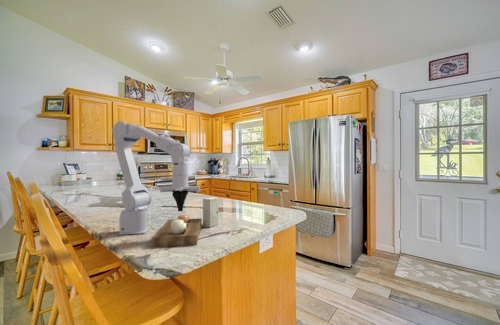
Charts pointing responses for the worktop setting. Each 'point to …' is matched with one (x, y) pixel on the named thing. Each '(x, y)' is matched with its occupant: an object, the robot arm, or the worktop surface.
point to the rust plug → (184, 218)
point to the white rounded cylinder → (177, 226)
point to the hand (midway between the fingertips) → (180, 210)
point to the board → (185, 238)
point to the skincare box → (210, 211)
